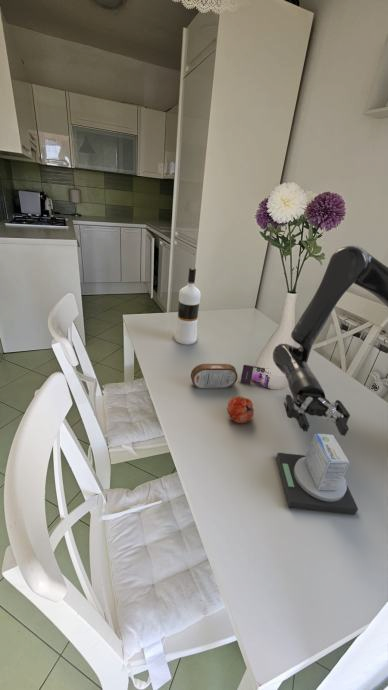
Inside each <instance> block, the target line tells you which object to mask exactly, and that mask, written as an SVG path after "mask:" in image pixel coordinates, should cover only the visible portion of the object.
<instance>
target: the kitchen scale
mask: <svg viewBox="0 0 388 690" xmlns="http://www.w3.org/2000/svg"><path fill="white" fill-rule="evenodd" d="M305 458H306V454H305V455H304V454H296V453H295V454H294V453H286V452H277V453H276V457H275V461H276V465H277V469H278V473H279V477H280V481H281V484H282V488H283V489H282V490H283V492H284V497H285V500H286V505H287V508H288V509H296V510H304V511H312V512H313V511H314V512H323V513H333V514H341V515H350V516H351V515H352V516H355V515H356V514H357V512H358V511H359V508H358V506H357V503H356V501H355V498H354V497H353V495H352V493H351V490H350V488H349V486H348V484H347V480H346V478H345V476H344V477H343V479H342V481H341V483H340V485H339V487H338V490H337V491H333V490H318V489H317V487H316V484H315V482H314V480H313V478H312V476H311V473H310V471H309V469H308V467H307V465H306V463H305Z"/></svg>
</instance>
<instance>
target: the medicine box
mask: <svg viewBox="0 0 388 690" xmlns="http://www.w3.org/2000/svg"><path fill="white" fill-rule="evenodd" d="M305 456H306V458H305V463H306V465H307V467H308V469H309V471H310V473H311V476H312V478H313V480H314V482H315V484H316V487H317V489H318V490H333V491H337V490H338V487H339V485H340V483H341V481H342V479H343V477H344V478H345V474H346V473H347V470H348V468H349V466H350V461H349V459H348V457H347V455H346V454H345V453H344V451H343V449H342V448H341V446H340V443H339V442H338V441H337V439H336V438H335V436H334V434H326V433H314V434H313V437H312V439H311V442H310V444H309V447H308V450H307V453H306V454H305Z"/></svg>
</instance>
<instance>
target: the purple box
mask: <svg viewBox="0 0 388 690" xmlns="http://www.w3.org/2000/svg"><path fill="white" fill-rule="evenodd" d="M254 369H255V370H256V372H254ZM253 372H254V373H253ZM261 373H262V374H261ZM263 373H265V375H264V374H263ZM266 373H267V374H269V371H268V370H267V371H266V370H265V367H260V366H255V365H248V364H243V365H242V372H241V375H240V376H241V377H240V384H245V385H246V384H247V385H251V382H252V381H253V382H255V383H260V382H262V381H263V380H264V382H263V384H262V386H261V387H262V388H267V389H268V386H269V382H270V379H269V380H268V375H266ZM262 375H263V376H262ZM264 376H265V377H264Z"/></svg>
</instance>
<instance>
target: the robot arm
mask: <svg viewBox="0 0 388 690" xmlns="http://www.w3.org/2000/svg"><path fill="white" fill-rule="evenodd" d="M353 284H354V285H356V286H358V287H360V288H362V289H363V290H365V291H367V292H369V293H371V294H372V295H374V297H376V298H377V299H378V300H379V301H380V302H381V303H382V304H384V306H386V307H387V308H388V266H387V265H386V264H384V263H383V262H381V261H380V260H378V259H377V258H376V257H374V256H373V255H372V254H370V253H369V252H368V251H367V250H366V249H364V248H363V247H361V246H359V245H345V246H342V247H340V248H338V249H336V250H335V251H334V253H333V254H332V255H331V256H330V258H329V261H328V264H327V267H326V270H325V272H324V274H323V277H322V280H321V282H320V284H319V286H318V287H317V289H316V291H315V294H314V295H313V297H312V298H311V300H310V302H309V303H308V305H307V307H306V308H305V310H304V311H303V313H302V314H301V316H300V318H299V319H298V321H297V322H296V324H295V326H294V327H293V329H292V331H291V333H290V337H291V339H292V340H293V342H295V343H296V344H298V345H299V346H298V347H297V346H293V345H290V344H288V343H284V344H283V343H279V344H278V346H277V345H276V346H275V347H274V349H273V351H272V360H273V363H274V364H275V366H276V367H277V368H278V370H279V371H280V372H281V373H282V374H283V375H284V376H285V379H286V380H287V384H288V388H289V390H290V393H291V395H290V394H286V395H285V398H284V401H283V406H284V410H285V413H286V417H287V418H288V419H292V418H294V420H295V421H297V424H298V426H299V428H300V429H301V430H302V431H303V432H308V431H309V428H310V422H309V421H308V418H307V416H306V415H309V416H317V417H322V418H324V419H325V420H326V421H331V422H332V423H333V424H335V427H336V429H337V431H338V433H339V434H340V436H342V437H343V436H344V437H345V436H346V435H347V434H348V431H349V426H348V421H349V419H350V417H351V413H350V412H349V411H348V410H347V408H346V407H345V406H344V404H343V403H342V401H340V400H339V399H336V400H335V401H334V402H333V401H332V402H330V400H328V399H327V398H326V394H325V390H324V389H323V387H322V386H321V384H320V381H319V380H318V378H317V377H316V375H315V374H314V373H313V372H312V369H311V368H310V366H309V364H308V361H309V357H310V354H311V351H312V348H313V345H314V343H315V341H316V339H318V337H319V335H320V333H321V332H322V330H323V329H324V328H325V326H326V324H327V323H328V320H329V318H330V317H331V315H332V313H333V311H334V309H335V307H336V306H337V304H338V303H339V301H340V300H341V299H342V297H343V296H344V294H345V293H346V292H347V291H348V290H349V289H350V288H351V286H353ZM295 406H296V407H297V408H298V409H296V408H295ZM327 412H328V414H327Z"/></svg>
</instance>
